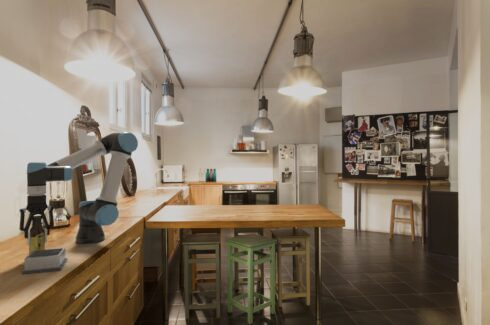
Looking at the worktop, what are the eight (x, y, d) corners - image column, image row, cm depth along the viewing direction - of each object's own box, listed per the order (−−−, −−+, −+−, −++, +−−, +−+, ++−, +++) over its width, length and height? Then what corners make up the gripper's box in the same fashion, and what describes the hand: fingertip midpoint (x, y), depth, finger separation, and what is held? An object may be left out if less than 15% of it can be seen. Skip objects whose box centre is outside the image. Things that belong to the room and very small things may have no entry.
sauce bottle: (40, 260, 147) (39, 217, 147) (26, 260, 147) (25, 217, 146) (47, 255, 154) (47, 214, 153) (34, 256, 153) (33, 215, 153)
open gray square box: (32, 263, 142) (32, 249, 142) (67, 260, 147) (67, 247, 147) (22, 274, 129) (22, 259, 129) (61, 270, 134) (61, 255, 134)
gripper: (13, 197, 141) (14, 249, 141) (61, 193, 154) (62, 241, 154) (10, 195, 146) (11, 245, 146) (57, 192, 159) (57, 238, 160)
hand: (37, 243), depth 150 cm, fingers closed on sauce bottle, 6 cm apart
